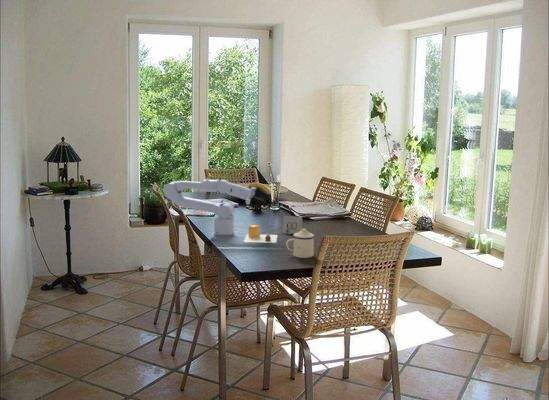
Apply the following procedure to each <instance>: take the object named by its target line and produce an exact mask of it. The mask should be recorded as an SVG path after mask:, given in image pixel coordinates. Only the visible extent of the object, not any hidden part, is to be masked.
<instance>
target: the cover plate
mask: <svg viewBox="0 0 549 400" xmlns="http://www.w3.org/2000/svg"><path fill="white" fill-rule="evenodd" d="M277 240H278V234H270V233H266V234H260V237H257V238H252V237H249V233H246V234H245V237H244V240H243V243H261V244H262V243H263V244H265V243H266V244H267V243H268V244H269V243H270V244H271V243H272V244H276V243H277Z"/></svg>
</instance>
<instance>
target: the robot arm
mask: <svg viewBox="0 0 549 400" xmlns="http://www.w3.org/2000/svg"><path fill="white" fill-rule="evenodd" d="M185 189H188V190H189V189H192V190H194V189H199V190H200V189H201V190H202V191H203V192H211V193H217V192H219V193H220V194H228V195H229V196H232V197H236V198H238V199H242V200H245V204H247V205H249V206H250V207H258V206H260V207H266V205H267V201H266V200H270V196H271V195H270V194H268V193H267V192H265V191H264V190H263V189H261V187H259V186H257V187H255V186H253V187H251V188H248V187H246V186H243V185H239V184H236V183H232V182H229V180H227V179H223V178H222V179H219V178H216V179H210V178H205V179H203V180H201V181H193V180H190V181H188V180H177V181H176V180H172V181H171V182H168V183H166V184H165V185H164V186H163V190H162V191H163V193H164V196H165V197H166V198H167V199H169V200H171V202H172V203H174V204H175V205H176V206H179V207H183V208H187V209H193V210H196V211H197V210H198V211H201V212H202V211H203V212H208V213H212V214H214V215H216V216H218V217H214V223H213V224H214V225H213V226H214V229H213V233H214V235H217V236H218V235H219V236H232V235H234V234H235V219H234V217H235V216H234V214H233V213H234V212H235V206H234V204H232V202H230V201H229V202H214V201H208V200H202V199H198V198H193V197H188V196H185V195H184V193H183V190H185Z"/></svg>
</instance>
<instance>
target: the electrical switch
mask: <svg viewBox="0 0 549 400" xmlns="http://www.w3.org/2000/svg"><path fill="white" fill-rule="evenodd" d="M282 221H283V222H282V234H287V235H288V234H289V235H290V234H293V235H294V234H295V233H298V232H300V231H302V229H303V228H302V225H303V217H302V216H288V215H287V216H286V215H284V216H283V220H282Z"/></svg>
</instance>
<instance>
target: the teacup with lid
mask: <svg viewBox="0 0 549 400" xmlns="http://www.w3.org/2000/svg"><path fill="white" fill-rule="evenodd" d="M292 237H293V238H290V239H287V241H286V243H285V244H286V247H287V249H288V250H289V251H292V252H293V254H292V255H293V256H294V257H295V258H299V259H309V258H313V257H314V251H315V250H314V249H315V247H314V245H315V242H314V241H315V235H314V234H313V233H311V232H309V231H307V228H302V231H300V232H298V233H295V234H293V236H292ZM289 242H293V248H290V246H289Z"/></svg>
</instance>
